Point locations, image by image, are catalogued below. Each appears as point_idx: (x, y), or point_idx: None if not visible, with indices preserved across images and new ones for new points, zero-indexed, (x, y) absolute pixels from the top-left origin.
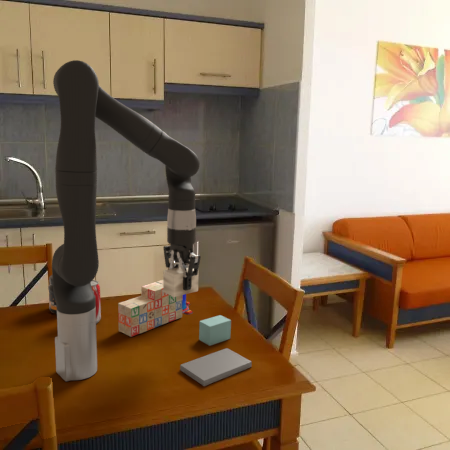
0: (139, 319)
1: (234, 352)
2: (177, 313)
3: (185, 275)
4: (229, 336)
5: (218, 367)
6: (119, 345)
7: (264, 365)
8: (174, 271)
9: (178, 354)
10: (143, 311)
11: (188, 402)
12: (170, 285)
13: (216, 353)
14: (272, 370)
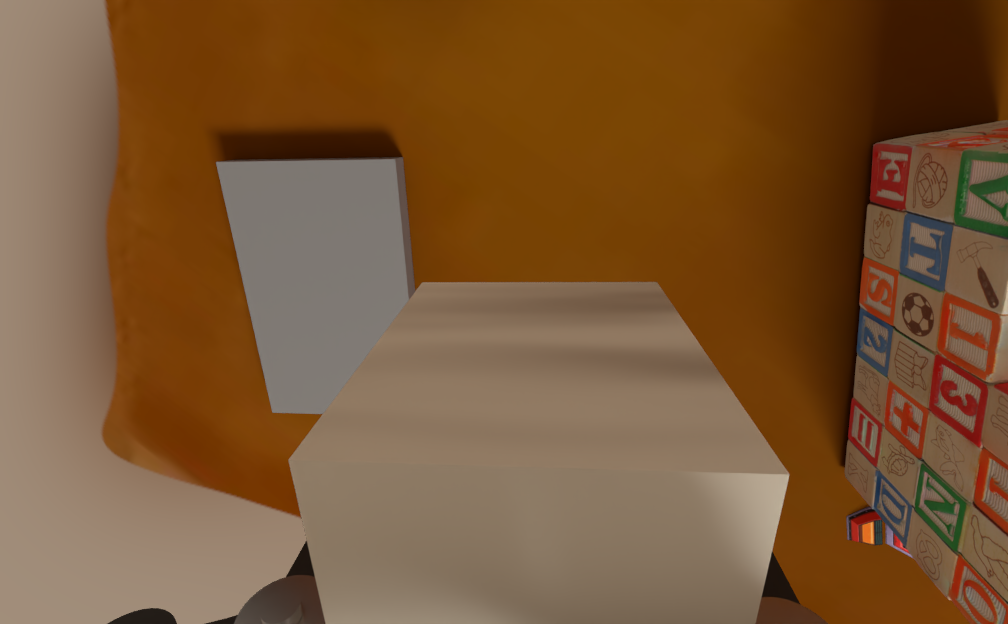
0: (928, 219)
1: None
2: (863, 467)
3: (254, 612)
4: None
5: (289, 283)
6: (842, 29)
7: (272, 440)
8: (534, 599)
9: (536, 239)
10: (960, 265)
11: (143, 20)
12: (483, 333)
13: None
14: (229, 435)
